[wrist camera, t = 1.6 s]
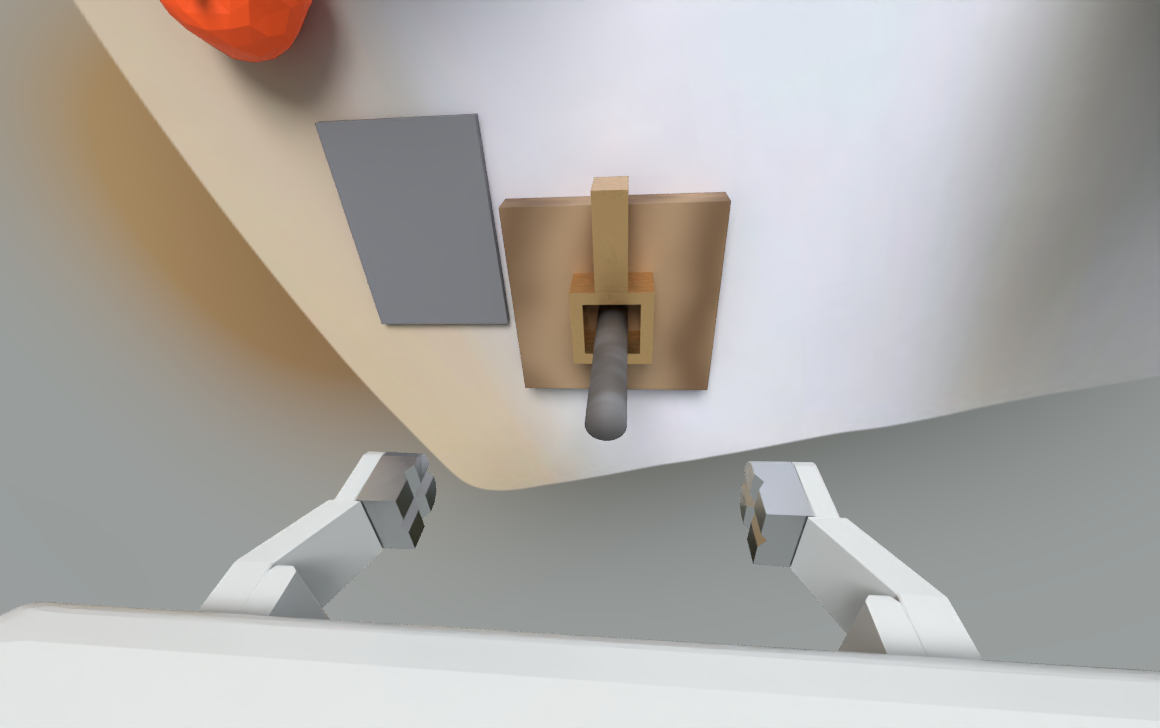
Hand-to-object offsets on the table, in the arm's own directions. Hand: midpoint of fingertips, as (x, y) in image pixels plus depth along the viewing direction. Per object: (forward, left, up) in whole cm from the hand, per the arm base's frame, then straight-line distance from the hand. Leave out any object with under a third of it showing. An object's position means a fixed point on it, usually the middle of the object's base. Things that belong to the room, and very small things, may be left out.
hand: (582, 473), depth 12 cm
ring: (0, +3, -21) cm, 21 cm away
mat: (+13, +1, -23) cm, 26 cm away
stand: (0, +6, -23) cm, 23 cm away
